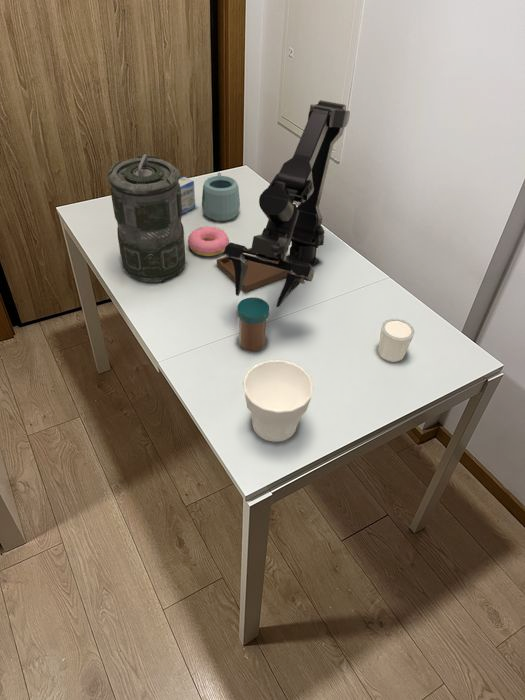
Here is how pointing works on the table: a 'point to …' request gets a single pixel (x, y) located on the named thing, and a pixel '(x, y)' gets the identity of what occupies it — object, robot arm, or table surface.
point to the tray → (253, 273)
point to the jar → (252, 336)
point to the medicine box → (187, 194)
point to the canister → (148, 217)
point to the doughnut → (208, 241)
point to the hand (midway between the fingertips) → (257, 301)
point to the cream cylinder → (395, 339)
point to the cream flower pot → (277, 398)
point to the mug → (220, 198)
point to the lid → (253, 310)
